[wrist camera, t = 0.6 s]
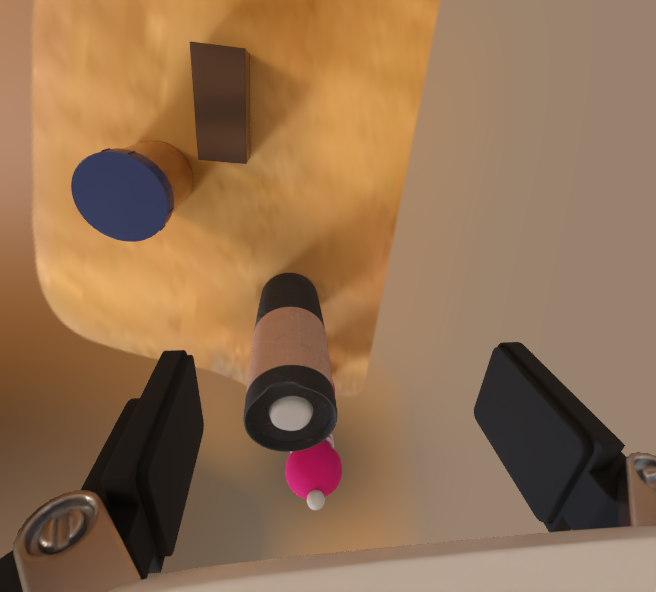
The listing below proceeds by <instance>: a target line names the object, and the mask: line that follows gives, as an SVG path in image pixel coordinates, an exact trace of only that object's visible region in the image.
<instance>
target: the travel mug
mask: <svg viewBox="0 0 656 592" xmlns="http://www.w3.org/2000/svg"><path fill="white" fill-rule="evenodd" d="M336 422H337V408H336V400H335V394H334V387H333V380H332V373H331V366H330V360H329V353H328V346H327V339H326V332H325V327H324V323H323V318H322V314H321V309H320V304H319V300H318V296H317V292H316V289H315V287H314V285H313V284H312V283H311V282H310V281H309V280H308V279H307V278H305V277H304V276H302V275H299V274H295V273H284V274H280V275H277V276H275V277H273V278H272V279H271V280H269V281H268V282H267V284H266V285H265V287H264V288H263V291H262V294H261V299H260V304H259V309H258V314H257V319H256V324H255V329H254V336H253V344H252V352H251V360H250V369H249V377H248V385H247V394H246V401H245V409H244V426H245V429H246V431H247V433H248V435H249V436H250V438H251V439H252V440H254V441H255V442H256V443H257V444H259V445H261V446H263V447H265V448H267V449H270V450H275V451H281V452H295V451H301V450H305V449H308V448H311V447H314V446H316V445H318V444H319V443H321V442H322V441H324V440H325V439H326V438H327V437H328V436H329V435H330V434H331V433H332V431H333V430H334V428H335V425H336Z"/></svg>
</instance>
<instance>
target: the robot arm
mask: <svg viewBox="0 0 656 592" xmlns="http://www.w3.org/2000/svg"><path fill="white" fill-rule="evenodd" d="M474 416H475V419H476V421H477V422H478V424H479V426H480V427H481V429H482V431H483V432H484V434H485V435H486V437H487V439H488V440H489V442H490V443H491V445H492V447H493V448H494V450H495V452H496V453H497V455H498V456H499V458H500V460H501V461H502V463H503V465H504V466H505V468H506V469H507V471H508V473H509V474H510V476H511V477H512V479H513V481H514V482H515V484H516V486H517V487H518V489H519V491H520V492H521V494H522V495H523V497H524V499H525V500H526V502H527V503H528V505H529V507H530V508H531V510H532V511H533V513H534V515H535V516H536V518H537V519H538V520H539V521H541V522H544V524H545V526H546V528H547V529H548V531H549V533H538V534H527V535H515V536H503V537H492V538H482V539H471V540H460V541H449V542H439V543H428V544H418V545H407V546H397V547H387V548H377V549H367V550H356V551H346V552H336V553H327V554H316V555H306V556H297V557H286V558H277V559H267V560H259V561H251V562H242V563H234V564H226V565H217V566H209V567H201V568H196V569H190V570H184V571H178V572H172V573H166V574H162V575H159V576H155V577H151V578H147V576H148V573H159V572H161V569H162V566H163V562H164V558H165V556H171V555H172V554H173V551H174V548H175V544H176V540H177V536H178V532H179V528H180V524H181V520H182V516H183V512H184V508H185V503H186V500H187V495H188V492H189V487H190V483H191V479H192V475H193V471H194V467H195V463H196V459H197V455H198V451H199V447H200V443H201V439H202V435H203V426H204V423H203V415H202V409H201V402H200V396H199V390H198V383H197V377H196V370H195V364H194V358H193V356H192V355H187V353H186V351H185V350H178V351H164V352H163V353H162V355H161V357H160V359H159V361H158V363H157V366H156V367H155V369H154V371H153V373H152V375H151V377H150V379H149V381H148V383H147V385H146V387H145V389H144V391H143V393H142V395H141V397H140V398H137V399H136V398H135V399H131V400H129V401H128V403H127V404H126V406H125V407H124V409H123V411H122V413H121V415H120V417H119V419H118V420H117V422H116V424H115V426H114V428H113V430H112V432H111V434H110V436H109V438H108V439H107V441H106V443H105V445H104V447H103V449H102V451H101V452H100V455H99V456H98V458H97V460H96V462H95V464H94V466H93V468H92V470H91V471H90V473H89V475H88V477H87V479H86V481H85V483H84V485H83V486H82V489H81V490H76V491H72V492H67V493H64V494H62V495H60V496H57V497H55V498H53V499H51V500H49V501H48V502H46V503H45V504H44V505H42V506H40V507H39V508H38V509H37V510H36V511H35V512H34V513H33V514H31V515H30V516H29V517H28V518H27V519H26V521H25V522H24V524H23V525H22V527H21V528H20V529H19V531H18V533H17V536H16V538H15V541H14V545H13V546H14V549H13V551H11V552H10V553H8V554H7V555H5V556H4V557H2V558H1V559H0V592H656V456H654V455H651V454H648V453H640V452H637V453H631V454H630V455H629V456H627V457H626V456H625V455H624V454H623V453H622V452H621V451H622V449H623V448H624V446H625V445H624V444H623V443H622V442H621V441H620V440H619V439H618V438H617V437H616V436H615V435H614V434H613V433H612V432H611V431H610V430H609V429H608V428H607V427H606V426H605V425H604V424H603V423H602V422H601V421H600V420H599V419H598V418H597V417H596V416H595V415H594V414H593V413H592V412H591V411H590V410H589V409H588V408H587V407H586V406H585V405H584V404H583V403H582V402H581V401H580V400H579V399H578V398H577V397H576V396H575V395H574V394H573V393H572V392H570V391H569V390H568V389H567V387H565V386H564V385H563V384H562V383H561V382H560V381H559V380H558V379H557V378H556V377H555V376H554V375H553V374H552V373H551V372H550V371H549V370H548V369H547V368H546V367H545V366H544V365H543V364H542V363H541V362H540V361H539V360H538V359H537V358H536V357H535V356H534V355H533V354H532V353H531V352H530V351H529V350H528V349H527V348H526V347H525V346H524V345H523V344H522V343H519V342H508V343H500V344H499V345H498V347H496V348H495V349H494V350H493V352H492V355H491V359H490V361H489V365H488V368H487V371H486V374H485V377H484V380H483V383H482V386H481V389H480V392H479V395H478V398H477V401H476V404H475V407H474Z"/></svg>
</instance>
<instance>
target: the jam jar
mask: <svg viewBox="0 0 656 592" xmlns="http://www.w3.org/2000/svg"><path fill="white" fill-rule="evenodd" d="M123 149H126V150H131V151H135V152H137V153H140V154H142V155H144V156H145V157H147V158H149V159H150V160H151V161H153V162H154V163H155V164H156V165H158V167H159V168H160V169H161V170H162V171H163V172H164V174H165V175H166V177H167V178H168V180H169V182H170V184H171V185H172V190H173V195H174V210H173V212H174V211H175V210H176V209H177V208H178V207H179V206H180V205H181V204H182V203H183V202H184V201H185V200H186V199H187V197H188V196H189V195H190V193H191V191H192V187H193V173H192V169H191V167H190V165H189V163H188V161H187V160H186V158H185V157H184V156H183V155H182V153H181V152H179V151H178V150H177V149H176V148H174V147H173V146H171V145H169V144H167V143H164V142H160V141H146V142H142V143H139V144H136V145H133V146H129V147H126V148H123ZM173 212H172V213H173Z"/></svg>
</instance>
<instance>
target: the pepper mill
mask: <svg viewBox="0 0 656 592" xmlns="http://www.w3.org/2000/svg"><path fill="white" fill-rule="evenodd" d="M333 387H334V383H333ZM334 394H335V388H334ZM285 470H286V471H285V472H286V479H287V482H288V485H289V487H290V488H291V490H292V491H293V492H294V493H295V494H297V495H298V496H300V497H302V498H305V499H307V503H308V506H309V507H310V508H311V509H313V510H318V509H321V508H322V507H323V505H324V503H325V497H326V496H328V495H329V494H330V493H332V492H333V491H334V490H335V489H336V487H337V486H338V484H339V482H340V479H341V475H342V465H341V460H340V457H339V455H338V454H337V452H336V451H335V450H334V443H333V436H332V434H330V435H329V436H328V437H327V438H326V439H325V440H324V441H322V442H321V443H319V444H318V445H316V446H314V447H311V448H308V449H305V450H301V451H295V452H290V456H289V457H288V459H287V462H286V469H285Z"/></svg>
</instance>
